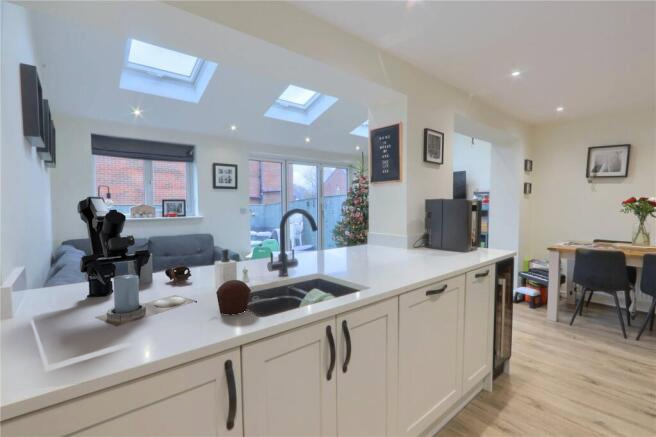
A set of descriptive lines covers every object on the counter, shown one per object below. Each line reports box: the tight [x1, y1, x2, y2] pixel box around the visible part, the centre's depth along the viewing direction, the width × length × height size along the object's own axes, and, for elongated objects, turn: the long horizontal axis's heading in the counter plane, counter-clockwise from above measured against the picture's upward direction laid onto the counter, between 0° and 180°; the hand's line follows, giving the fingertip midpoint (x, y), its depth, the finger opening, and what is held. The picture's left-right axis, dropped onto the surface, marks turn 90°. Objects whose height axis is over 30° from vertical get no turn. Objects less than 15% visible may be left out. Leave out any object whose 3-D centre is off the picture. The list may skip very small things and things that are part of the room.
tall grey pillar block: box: [127, 252, 154, 285], centre depth 137 cm, size 10×10×12 cm
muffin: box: [215, 279, 252, 316], centre depth 102 cm, size 12×11×10 cm
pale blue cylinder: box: [113, 274, 140, 314], centre depth 93 cm, size 9×6×12 cm
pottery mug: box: [164, 265, 192, 285], centre depth 137 cm, size 12×10×8 cm
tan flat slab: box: [94, 294, 198, 327], centre depth 100 cm, size 26×13×3 cm, turn 150°
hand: (122, 281), depth 96 cm, fingers open, 9 cm apart
